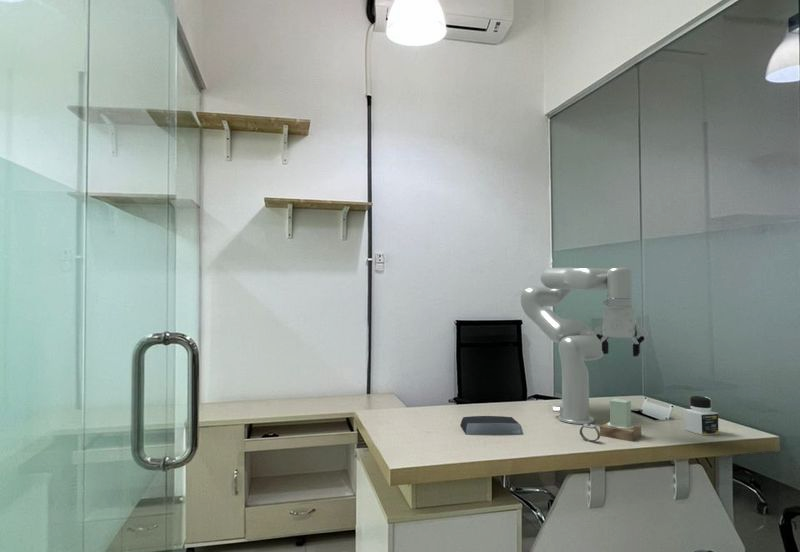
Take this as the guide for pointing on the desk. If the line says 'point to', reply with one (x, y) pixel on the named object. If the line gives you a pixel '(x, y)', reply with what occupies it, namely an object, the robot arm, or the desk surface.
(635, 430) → the pedestal
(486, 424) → the external hard drive
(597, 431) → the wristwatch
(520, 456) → the desk surface
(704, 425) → the medicine bottle
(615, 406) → the sage block
